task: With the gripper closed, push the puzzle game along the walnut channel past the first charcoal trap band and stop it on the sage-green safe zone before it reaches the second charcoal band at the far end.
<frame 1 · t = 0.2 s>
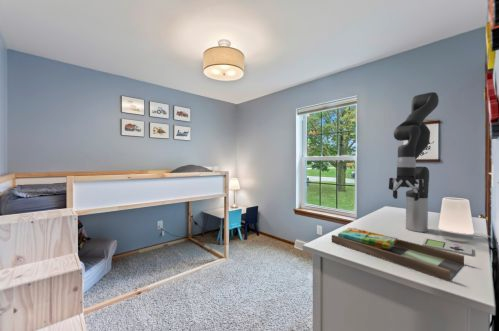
hand: (405, 199, 107), 17 cm above the table, tool pointing down, fingers open, 8 cm apart
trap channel: (389, 251, 87), on the table
puzzle game: (366, 244, 95), resting on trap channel
handheld gaming console: (446, 248, 92), on the table
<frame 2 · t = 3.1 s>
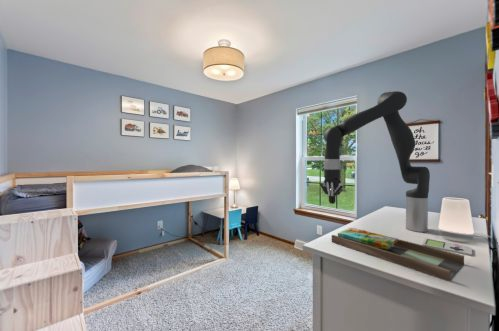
hand: (332, 203, 108), 16 cm above the table, tool pointing down, fingers closed
nothing on the table moved.
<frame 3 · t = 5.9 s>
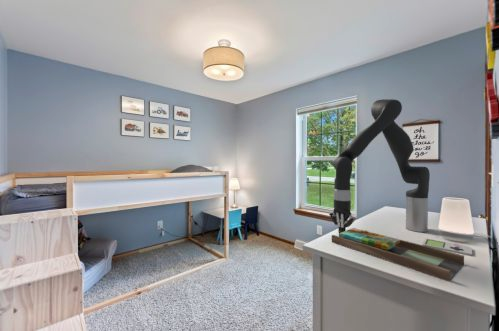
hand: (341, 234, 105), 1 cm above the table, tool pointing down, fingers closed
puzzle game: (368, 245, 94), resting on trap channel
everything else where it was.
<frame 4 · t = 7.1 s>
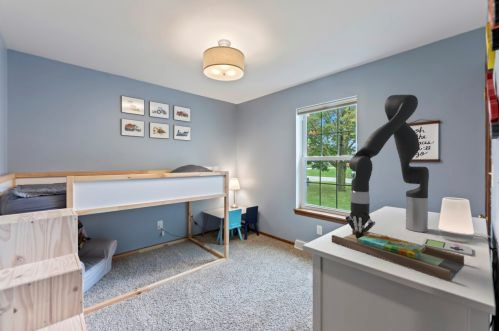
hand: (359, 239, 97), 1 cm above the table, tool pointing down, fingers closed
puzzle game: (389, 252, 87), resting on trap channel, touching gripper
everything else where it was.
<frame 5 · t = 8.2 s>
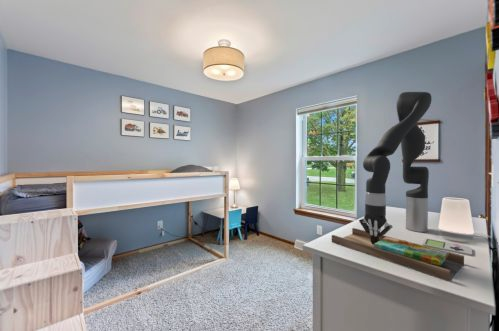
hand: (374, 244, 92), 1 cm above the table, tool pointing down, fingers closed
puzzle game: (409, 258, 81), resting on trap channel, touching gripper
everything else where it was.
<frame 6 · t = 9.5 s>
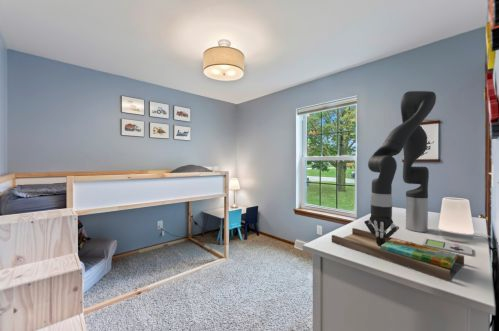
hand: (380, 246, 90), 1 cm above the table, tool pointing down, fingers closed
puzzle game: (416, 260, 80), resting on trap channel, touching gripper
everything else where it was.
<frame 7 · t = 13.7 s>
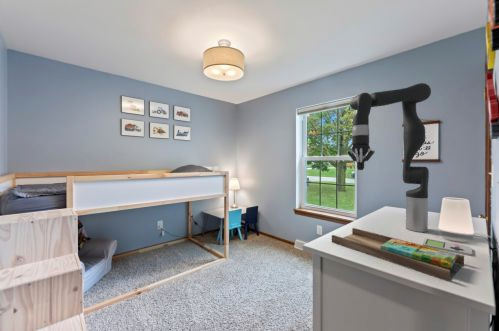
hand: (360, 169, 109), 32 cm above the table, tool pointing down, fingers closed
puzzle game: (417, 260, 80), resting on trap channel
everything else where it was.
at the end: puzzle game inside the target area (0.7 cm from its centre), resting on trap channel; puzzle game tilted 0°; puzzle game moved 18.3 cm from its start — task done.
